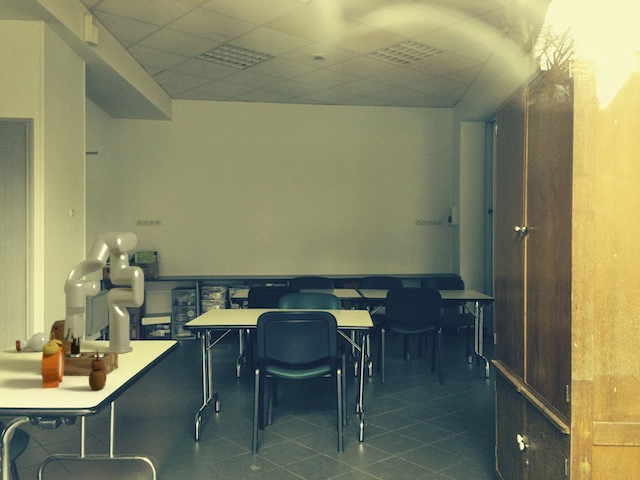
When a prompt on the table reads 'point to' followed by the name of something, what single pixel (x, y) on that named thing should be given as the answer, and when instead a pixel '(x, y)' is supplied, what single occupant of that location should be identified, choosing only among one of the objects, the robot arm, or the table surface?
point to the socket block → (88, 363)
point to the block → (60, 334)
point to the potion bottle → (33, 342)
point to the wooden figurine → (97, 374)
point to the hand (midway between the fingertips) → (75, 354)
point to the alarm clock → (52, 364)
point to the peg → (99, 355)
